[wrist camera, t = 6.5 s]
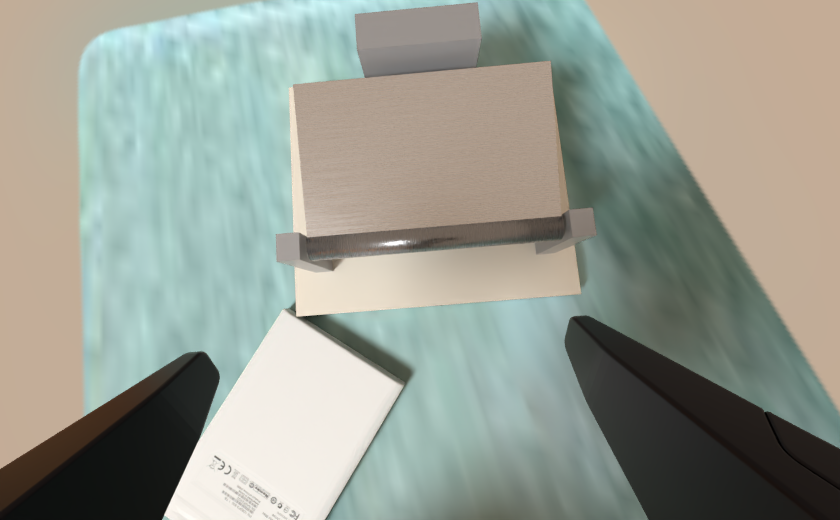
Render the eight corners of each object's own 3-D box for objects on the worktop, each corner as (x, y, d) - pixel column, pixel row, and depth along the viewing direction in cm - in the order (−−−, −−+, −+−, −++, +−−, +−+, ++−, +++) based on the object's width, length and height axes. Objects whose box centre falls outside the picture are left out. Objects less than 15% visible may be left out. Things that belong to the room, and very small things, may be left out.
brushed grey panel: (564, 240, 15) (552, 58, 15) (307, 261, 15) (290, 82, 15) (554, 240, 16) (542, 72, 16) (316, 260, 16) (301, 94, 16)
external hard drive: (406, 380, 21) (289, 577, 19) (292, 307, 21) (173, 493, 20) (404, 386, 19) (276, 602, 18) (281, 307, 20) (151, 509, 19)
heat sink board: (573, 294, 20) (665, 287, 12) (302, 316, 21) (223, 322, 13) (543, 74, 22) (607, -55, 14) (295, 97, 22) (221, -17, 15)
